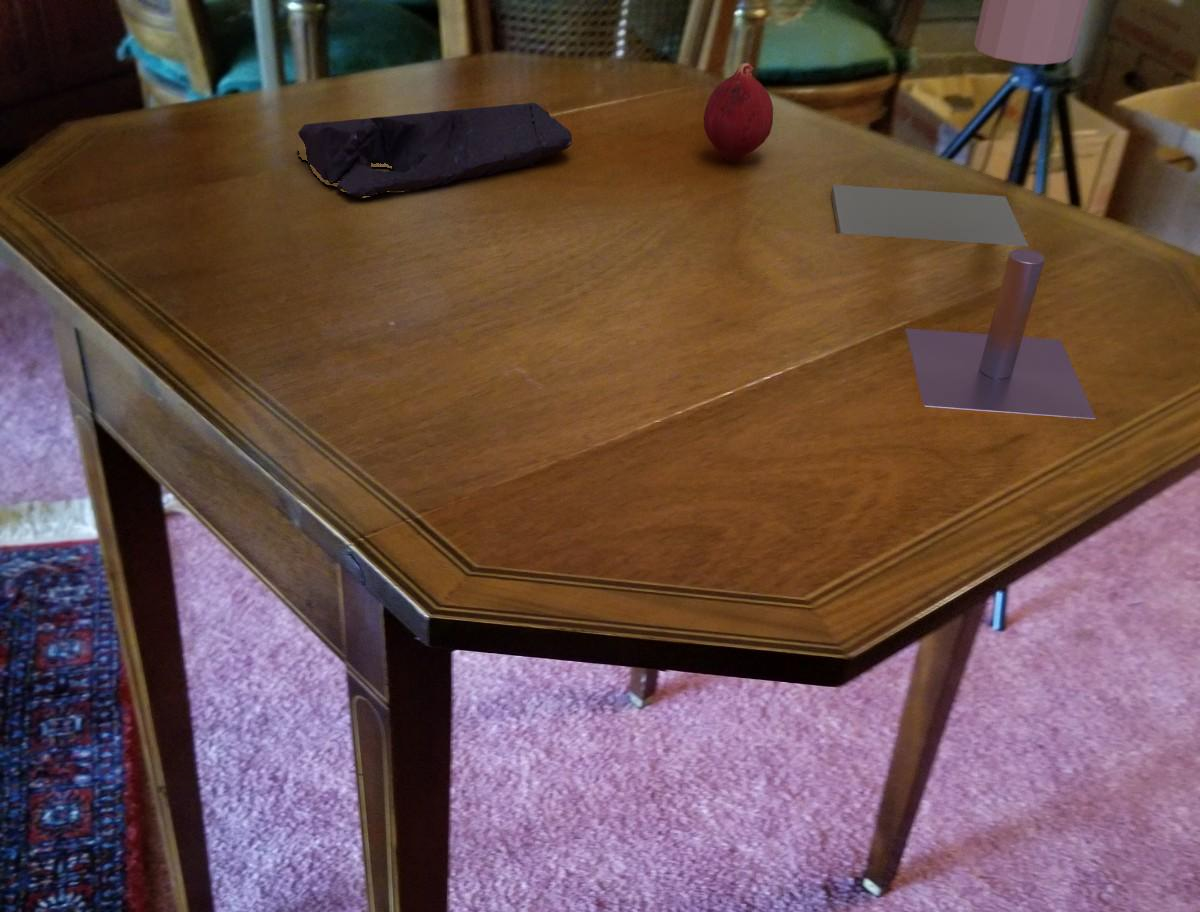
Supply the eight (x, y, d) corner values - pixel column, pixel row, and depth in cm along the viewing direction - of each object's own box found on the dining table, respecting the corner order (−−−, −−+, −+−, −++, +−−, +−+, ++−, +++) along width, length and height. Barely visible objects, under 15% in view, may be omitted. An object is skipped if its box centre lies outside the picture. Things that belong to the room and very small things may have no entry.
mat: (1003, 205, 98) (1005, 195, 98) (1047, 302, 85) (1050, 292, 84) (831, 193, 99) (832, 184, 99) (846, 288, 85) (848, 277, 85)
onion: (750, 179, 101) (762, 79, 96) (688, 164, 103) (697, 66, 98) (777, 158, 105) (790, 61, 100) (717, 145, 107) (726, 49, 102)
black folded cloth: (594, 173, 101) (596, 114, 98) (336, 208, 93) (330, 146, 90) (522, 116, 111) (522, 61, 108) (285, 143, 103) (278, 86, 100)
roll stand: (1056, 355, 78) (1095, 227, 73) (1091, 436, 71) (1138, 300, 65) (901, 344, 79) (929, 216, 73) (919, 423, 71) (951, 287, 66)
